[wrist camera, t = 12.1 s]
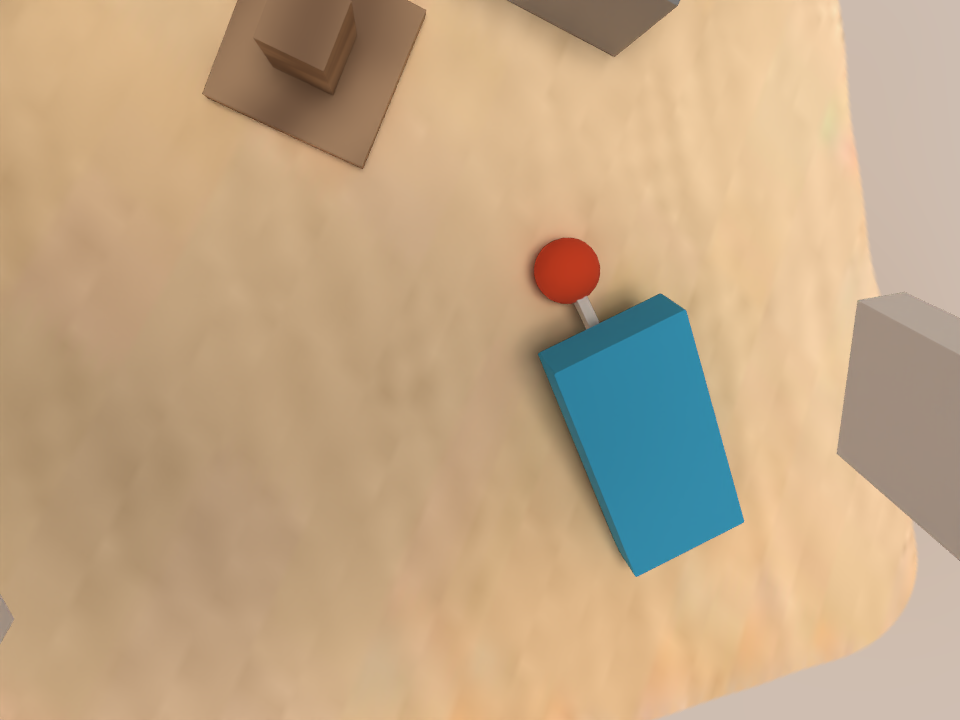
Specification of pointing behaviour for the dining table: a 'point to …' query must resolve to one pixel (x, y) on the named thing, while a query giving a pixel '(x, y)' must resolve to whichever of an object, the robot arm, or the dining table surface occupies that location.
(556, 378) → the lever
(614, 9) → the square storage bin
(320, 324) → the dining table surface
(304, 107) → the tee
